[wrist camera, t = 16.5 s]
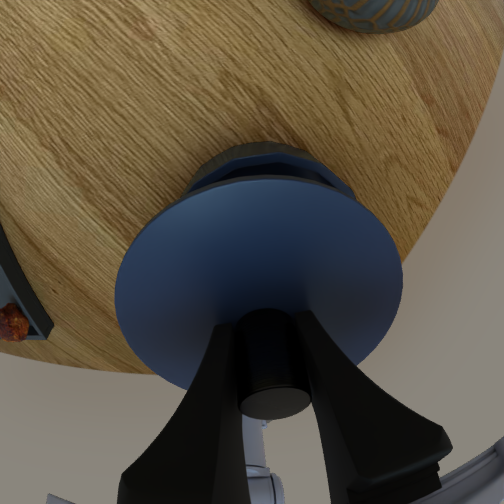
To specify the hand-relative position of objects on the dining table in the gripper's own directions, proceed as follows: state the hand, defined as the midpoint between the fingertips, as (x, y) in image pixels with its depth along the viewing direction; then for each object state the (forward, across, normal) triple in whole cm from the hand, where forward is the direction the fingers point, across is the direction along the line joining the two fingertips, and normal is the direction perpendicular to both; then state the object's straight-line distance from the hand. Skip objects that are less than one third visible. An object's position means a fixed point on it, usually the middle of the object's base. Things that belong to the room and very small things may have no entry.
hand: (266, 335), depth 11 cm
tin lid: (+1, 0, 0) cm, 1 cm away
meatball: (+9, +24, +4) cm, 25 cm away
